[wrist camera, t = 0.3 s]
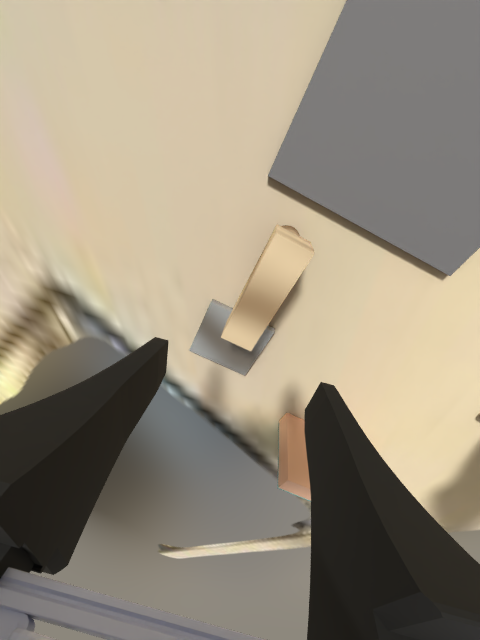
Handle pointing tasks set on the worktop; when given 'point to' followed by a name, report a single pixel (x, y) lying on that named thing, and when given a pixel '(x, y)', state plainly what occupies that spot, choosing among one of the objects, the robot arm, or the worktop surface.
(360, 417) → the worktop surface
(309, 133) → the mat
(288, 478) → the tile
